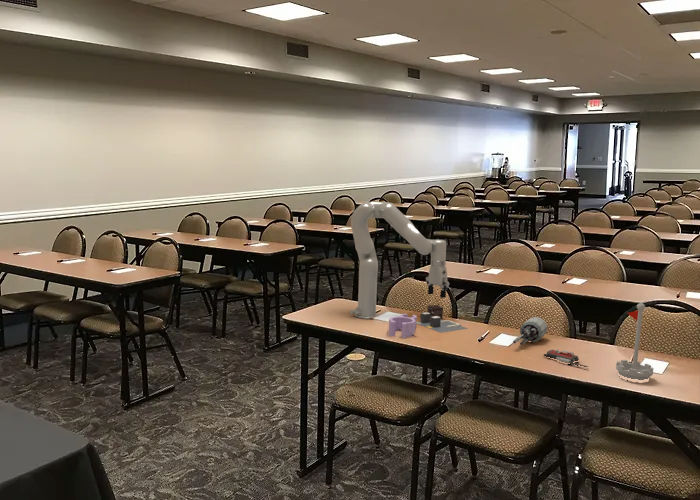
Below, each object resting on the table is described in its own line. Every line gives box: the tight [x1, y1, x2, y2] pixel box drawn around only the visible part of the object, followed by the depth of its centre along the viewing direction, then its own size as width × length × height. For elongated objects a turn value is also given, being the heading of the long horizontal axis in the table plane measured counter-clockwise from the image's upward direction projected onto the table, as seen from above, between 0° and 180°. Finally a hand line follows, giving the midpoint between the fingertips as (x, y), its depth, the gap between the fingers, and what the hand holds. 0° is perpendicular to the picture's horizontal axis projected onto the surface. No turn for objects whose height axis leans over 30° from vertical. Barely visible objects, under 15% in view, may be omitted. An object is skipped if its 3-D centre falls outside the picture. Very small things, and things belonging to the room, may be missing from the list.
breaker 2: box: [430, 316, 441, 327], centre depth 293 cm, size 4×3×5 cm
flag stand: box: [615, 302, 654, 380], centre depth 229 cm, size 13×13×30 cm
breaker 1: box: [419, 312, 431, 323], centre depth 300 cm, size 4×3×5 cm
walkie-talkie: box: [543, 349, 589, 368], centre depth 248 cm, size 9×4×20 cm
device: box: [512, 316, 548, 346], centre depth 272 cm, size 31×10×10 cm, turn 149°
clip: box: [388, 313, 418, 339], centre depth 284 cm, size 20×12×7 cm, turn 156°
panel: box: [416, 318, 469, 333], centre depth 295 cm, size 18×20×2 cm
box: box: [427, 304, 444, 320], centre depth 311 cm, size 6×6×7 cm
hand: (436, 295), depth 309 cm, fingers open, 9 cm apart
